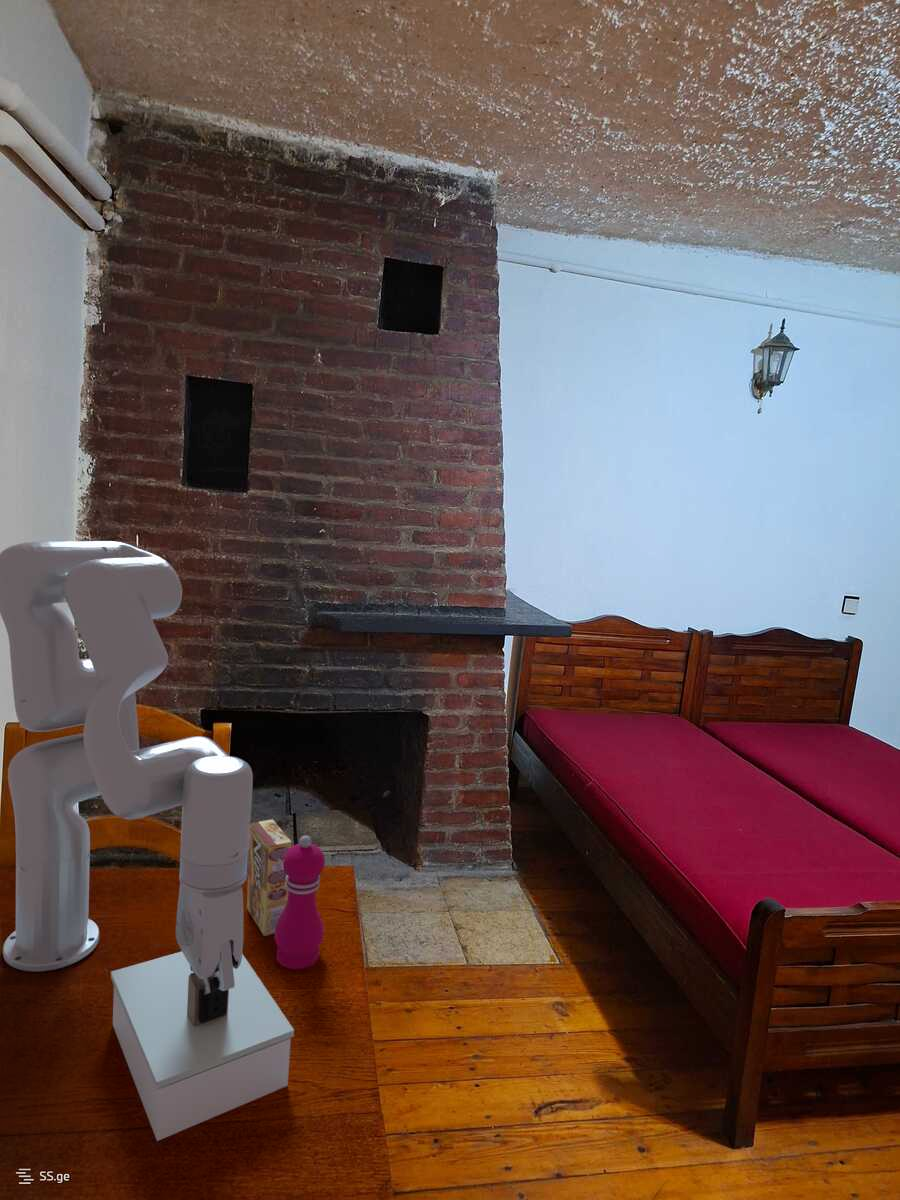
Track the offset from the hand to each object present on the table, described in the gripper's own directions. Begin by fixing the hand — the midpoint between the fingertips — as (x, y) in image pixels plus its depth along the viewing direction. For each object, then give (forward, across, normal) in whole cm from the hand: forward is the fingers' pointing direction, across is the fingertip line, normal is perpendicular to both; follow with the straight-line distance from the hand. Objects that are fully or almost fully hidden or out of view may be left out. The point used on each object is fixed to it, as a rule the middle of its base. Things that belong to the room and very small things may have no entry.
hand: (207, 1008), depth 90 cm
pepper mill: (+9, -15, +19) cm, 26 cm away
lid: (+2, -3, 0) cm, 3 cm away
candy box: (+9, -27, +19) cm, 34 cm away
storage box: (+9, -3, 0) cm, 9 cm away
